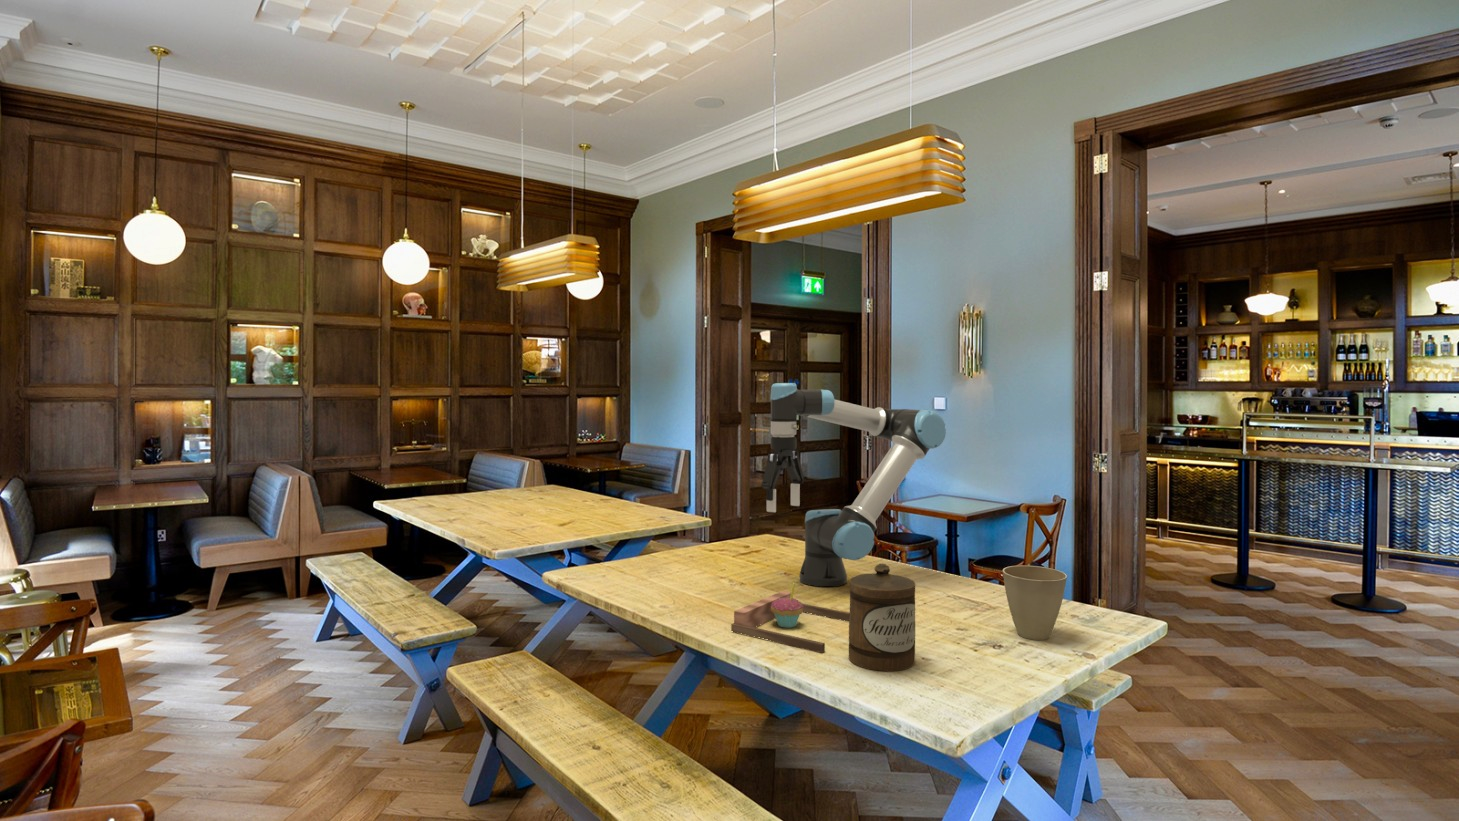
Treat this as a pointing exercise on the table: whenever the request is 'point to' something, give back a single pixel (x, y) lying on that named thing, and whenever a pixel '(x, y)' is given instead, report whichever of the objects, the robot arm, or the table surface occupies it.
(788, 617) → the cupcake
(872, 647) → the wooden container
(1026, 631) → the plant pot
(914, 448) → the robot arm
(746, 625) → the brown wooden open frame
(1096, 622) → the table surface
